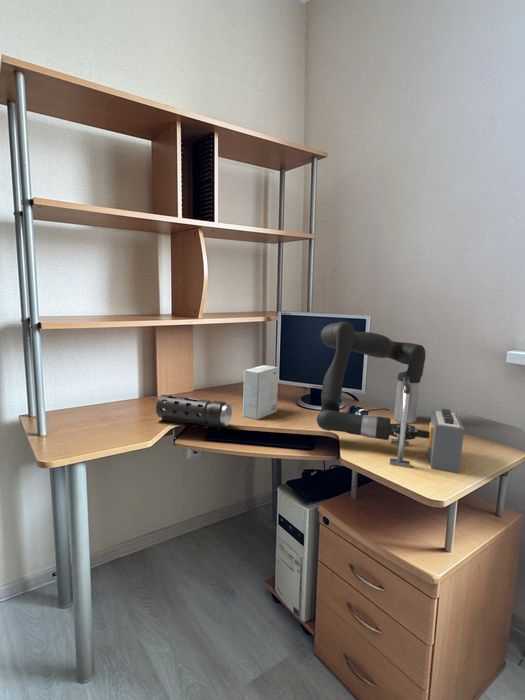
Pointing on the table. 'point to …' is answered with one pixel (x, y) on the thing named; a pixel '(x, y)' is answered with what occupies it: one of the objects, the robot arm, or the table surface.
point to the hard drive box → (260, 391)
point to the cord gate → (402, 426)
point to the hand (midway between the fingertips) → (429, 434)
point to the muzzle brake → (194, 411)
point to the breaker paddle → (431, 430)
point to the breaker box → (446, 441)
